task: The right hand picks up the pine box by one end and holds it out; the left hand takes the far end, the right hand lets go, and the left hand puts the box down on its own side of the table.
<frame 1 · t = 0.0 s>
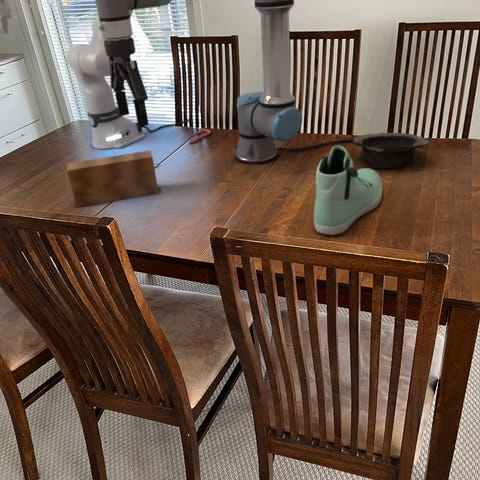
left hand: (0, 33, 160), 48 cm above the table, tool pointing down, fingers open, 8 cm apart
right hand: (133, 120, 133), 28 cm above the table, tool pointing down, fingers open, 13 cm apart
baking ingredient package: (136, 172, 174), on the table
sneaker: (348, 208, 139), on the table
box: (117, 196, 157), on the table
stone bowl: (387, 159, 167), on the table
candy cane: (199, 138, 200), on the table
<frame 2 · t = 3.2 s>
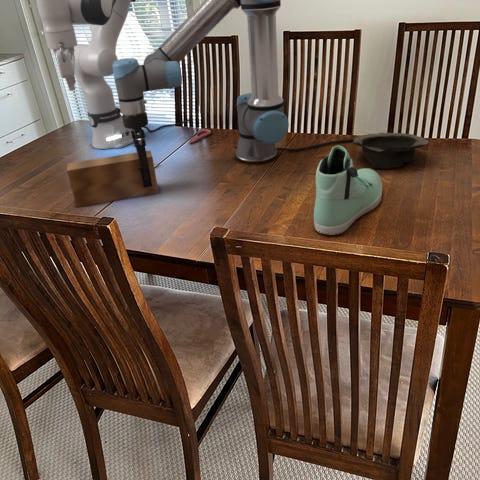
left hand: (72, 86, 154), 32 cm above the table, tool pointing down, fingers open, 8 cm apart
right hand: (146, 182, 158), 3 cm above the table, tool pointing down, fingers closed on box, 6 cm apart
box: (117, 195, 157), on the table, touching right hand
everything else where it was.
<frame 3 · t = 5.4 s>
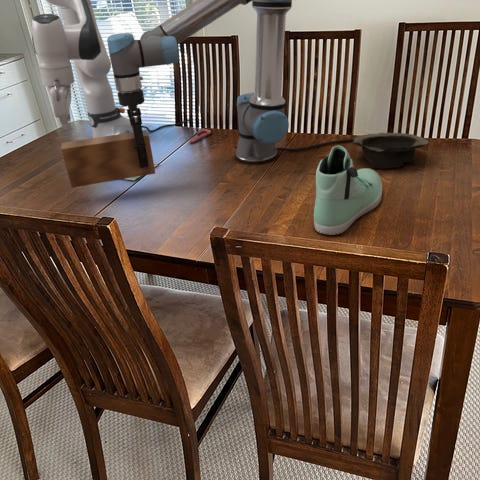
left hand: (66, 124, 144), 25 cm above the table, tool pointing down, fingers open, 8 cm apart
right hand: (143, 162, 154), 10 cm above the table, tool pointing down, fingers closed on box, 6 cm apart
box: (113, 176, 154), point 7 cm above the table, touching right hand
everything else where it was.
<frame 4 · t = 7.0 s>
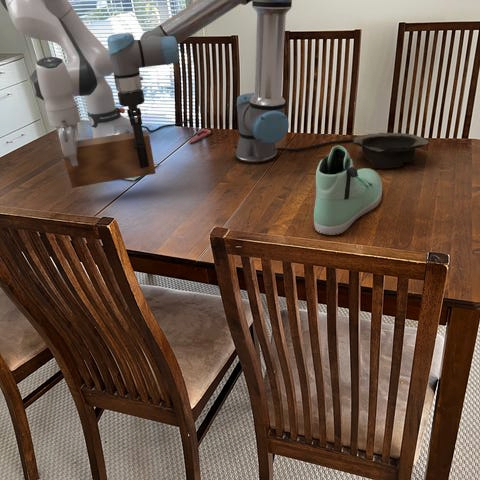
left hand: (75, 160, 148), 14 cm above the table, tool pointing down, fingers closed on box, 6 cm apart
right hand: (143, 162, 154), 10 cm above the table, tool pointing down, fingers closed on box, 6 cm apart
box: (114, 177, 154), point 7 cm above the table, touching left hand, right hand
everything else where it was.
when the right hand's fingers open (10 cm above the table, at t = 8.1 s): box stays where it is, held by the left hand.
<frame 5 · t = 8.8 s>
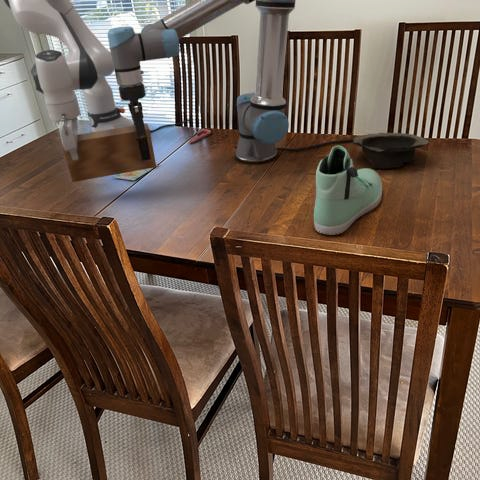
left hand: (75, 154, 147), 16 cm above the table, tool pointing down, fingers closed on box, 6 cm apart
right hand: (144, 152, 153), 13 cm above the table, tool pointing down, fingers open, 13 cm apart
box: (114, 171, 153), point 9 cm above the table, touching left hand
everything else where it was.
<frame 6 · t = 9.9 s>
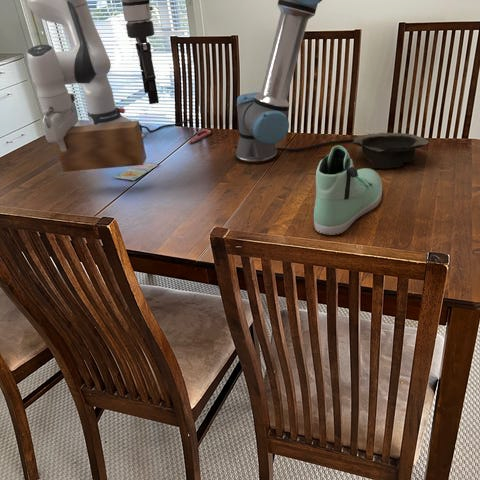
left hand: (68, 146, 153), 16 cm above the table, tool pointing down, fingers closed on box, 6 cm apart
right hand: (151, 97, 145), 30 cm above the table, tool pointing down, fingers open, 13 cm apart
box: (105, 164, 156), point 9 cm above the table, touching left hand
everything else where it was.
when the left hand's fingers open (9 cm above the table, at t = 12.9 s): box drops 2 cm, on the table.
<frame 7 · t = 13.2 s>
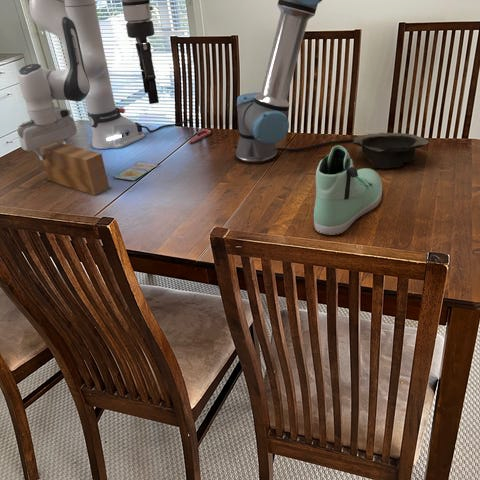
left hand: (54, 155, 168), 9 cm above the table, tool pointing down, fingers open, 8 cm apart
right hand: (151, 97, 145), 30 cm above the table, tool pointing down, fingers open, 13 cm apart
box: (78, 184, 168), on the table
everything else where it was.
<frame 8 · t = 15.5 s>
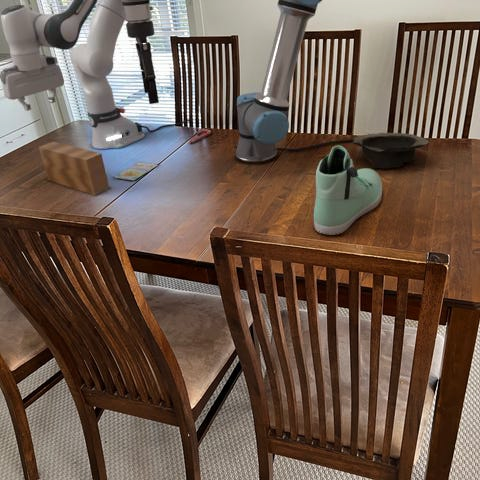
left hand: (40, 106, 159), 26 cm above the table, tool pointing down, fingers open, 8 cm apart
right hand: (151, 97, 145), 30 cm above the table, tool pointing down, fingers open, 13 cm apart
nothing on the table moved.
at the end: box inside the target area (9.4 cm from its centre), on the table; the left hand is holding nothing; the right hand is holding nothing; box at rest at the end (0.0 cm/s) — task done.
